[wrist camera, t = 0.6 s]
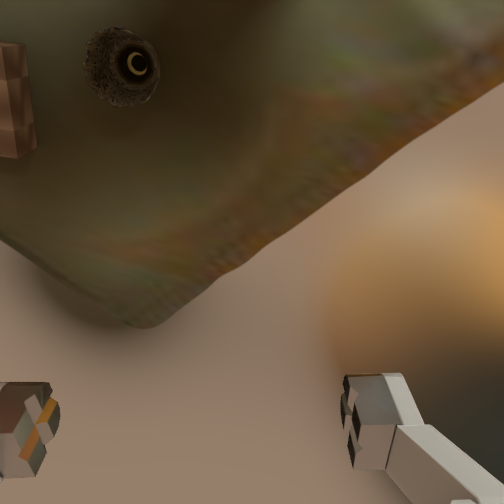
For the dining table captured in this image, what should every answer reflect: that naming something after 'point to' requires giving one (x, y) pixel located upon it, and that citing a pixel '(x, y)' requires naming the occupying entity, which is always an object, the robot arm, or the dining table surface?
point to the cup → (121, 67)
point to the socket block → (15, 103)
